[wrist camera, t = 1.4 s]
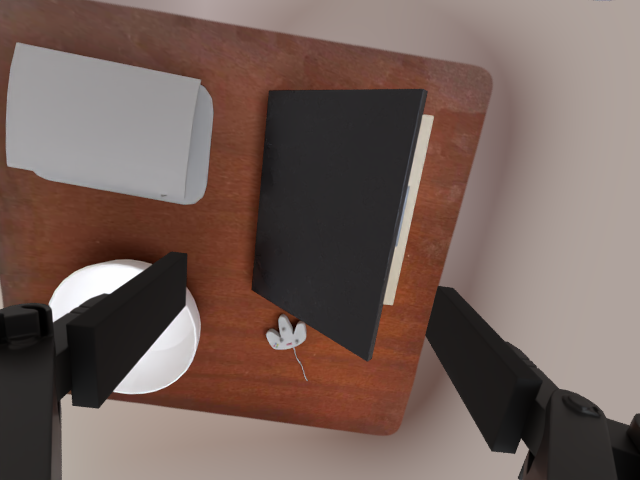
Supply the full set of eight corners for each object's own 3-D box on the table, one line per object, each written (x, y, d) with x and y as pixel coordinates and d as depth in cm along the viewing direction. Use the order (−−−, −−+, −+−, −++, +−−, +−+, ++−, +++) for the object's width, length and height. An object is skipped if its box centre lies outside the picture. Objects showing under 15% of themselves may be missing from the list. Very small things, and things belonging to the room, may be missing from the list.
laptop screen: (428, 91, 26) (423, 88, 25) (372, 358, 33) (367, 361, 32) (274, 92, 38) (268, 90, 37) (256, 288, 44) (251, 289, 44)
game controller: (292, 305, 47) (291, 314, 45) (337, 361, 50) (338, 372, 47) (261, 326, 48) (258, 335, 45) (307, 379, 51) (306, 391, 48)
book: (204, 208, 43) (193, 214, 39) (26, 175, 42) (-3, 178, 38) (216, 84, 39) (205, 77, 35) (19, 44, 38) (-14, 33, 34)
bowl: (214, 250, 45) (195, 269, 38) (215, 364, 50) (198, 399, 43) (80, 240, 44) (35, 257, 37) (94, 355, 49) (57, 389, 42)
